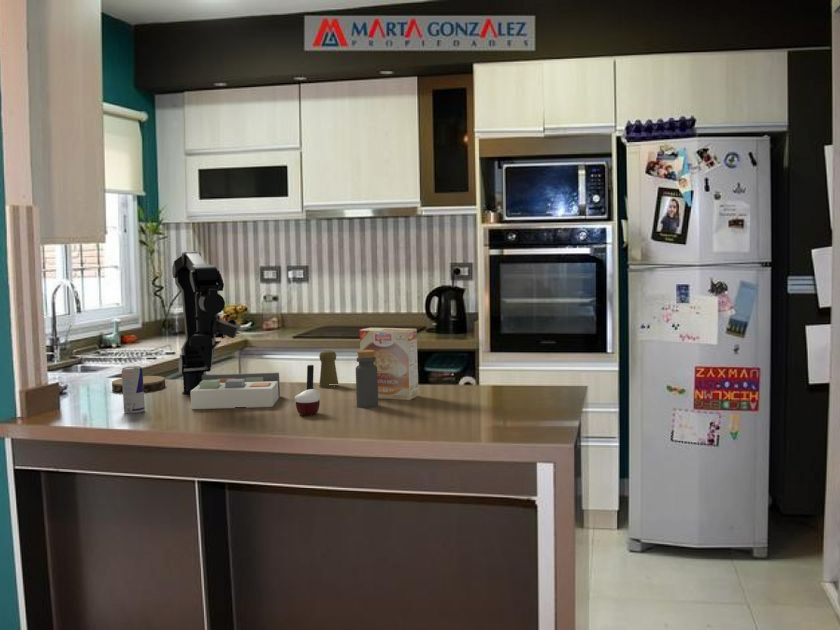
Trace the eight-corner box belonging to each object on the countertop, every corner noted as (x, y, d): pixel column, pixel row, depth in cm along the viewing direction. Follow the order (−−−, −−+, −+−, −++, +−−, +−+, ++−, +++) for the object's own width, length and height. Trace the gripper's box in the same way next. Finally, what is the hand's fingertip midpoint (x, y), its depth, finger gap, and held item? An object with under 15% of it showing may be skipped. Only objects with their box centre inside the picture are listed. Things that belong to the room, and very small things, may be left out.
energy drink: (149, 410, 227) (146, 366, 226) (136, 414, 222) (133, 369, 221) (132, 409, 229) (130, 366, 228) (119, 413, 224) (117, 369, 223)
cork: (340, 384, 260) (339, 349, 259) (336, 387, 254) (335, 351, 253) (321, 384, 261) (320, 349, 260) (317, 387, 255) (315, 352, 254)
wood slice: (162, 392, 256) (162, 382, 256) (108, 395, 253) (107, 385, 252) (167, 383, 271) (167, 374, 271) (116, 386, 268) (115, 377, 268)
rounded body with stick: (308, 419, 212) (307, 373, 210) (288, 417, 214) (286, 371, 213) (329, 410, 220) (327, 366, 218) (309, 408, 223) (308, 364, 221)
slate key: (225, 396, 230) (225, 381, 230) (229, 393, 235) (228, 379, 235) (242, 395, 231) (241, 381, 230) (245, 392, 235) (244, 378, 235)
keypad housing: (191, 409, 227) (189, 383, 226) (203, 398, 242) (202, 374, 241) (272, 406, 227) (271, 381, 227) (280, 396, 242) (279, 372, 242)
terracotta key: (251, 400, 231) (250, 385, 230) (254, 397, 235) (253, 382, 235) (268, 399, 231) (267, 385, 231) (270, 396, 235) (269, 382, 235)
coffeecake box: (360, 398, 237) (358, 329, 235) (371, 393, 243) (369, 327, 242) (409, 400, 231) (407, 330, 229) (419, 395, 238) (417, 327, 236)
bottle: (382, 404, 227) (380, 349, 225) (372, 408, 221) (370, 352, 220) (363, 403, 229) (361, 349, 228) (352, 407, 224) (350, 351, 222)
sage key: (200, 396, 230) (199, 382, 230) (204, 393, 235) (203, 379, 234) (217, 396, 230) (216, 382, 230) (220, 393, 235) (219, 379, 235)
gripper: (229, 314, 222) (232, 372, 223) (242, 308, 240) (244, 361, 242) (187, 315, 221) (190, 373, 223) (203, 309, 240) (205, 362, 241)
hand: (209, 367), depth 232 cm, fingers closed
